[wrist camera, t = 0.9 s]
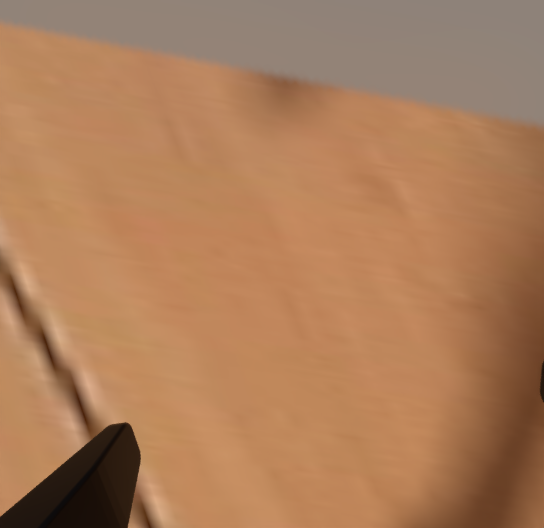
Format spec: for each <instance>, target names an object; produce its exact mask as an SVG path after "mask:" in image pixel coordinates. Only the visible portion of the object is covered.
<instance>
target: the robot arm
mask: <svg viewBox="0 0 544 528" xmlns="http://www.w3.org/2000/svg"><path fill="white" fill-rule="evenodd" d="M540 394H541V398H542V400H543V402H544V361H543V363H542V369H541V382H540ZM140 461H141V455H140V450H139V447H138V444H137V441H136V438H135V435H134V432H133V430H132V427H131V425H130V424H129V423H126V422H125V423H118V424H112V425H109V426H108V427H106V428H105V429H104V430H103V431H101V432H100V433H99V434H98V435H97V436H96V437H94V438H93V439H92V440H91V441H90V442H88V443H87V444H86V445H85V446H84V447H83V448H81V449H80V450H79V451H78V452H77V453H75V454H74V455H73V456H72V457H71V458H69V459H68V460H67V461H66V462H65V463H64V464H62V465H61V466H60V467H59V468H58V469H56V470H55V471H54V472H53V473H52V474H50V475H49V476H48V477H47V478H46V479H45V480H43V481H42V482H41V483H40V484H39V485H37V486H36V487H35V488H34V489H33V490H31V491H30V492H29V493H28V494H27V495H26V496H24V497H23V498H22V499H21V500H20V501H18V502H17V503H16V504H15V505H14V506H12V507H11V508H10V509H9V510H8V511H6V512H5V513H4V514H3V515H2V516H1V517H0V528H128V523H129V518H130V513H131V508H132V503H133V498H134V493H135V488H136V482H137V477H138V472H139V467H140Z"/></svg>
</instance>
